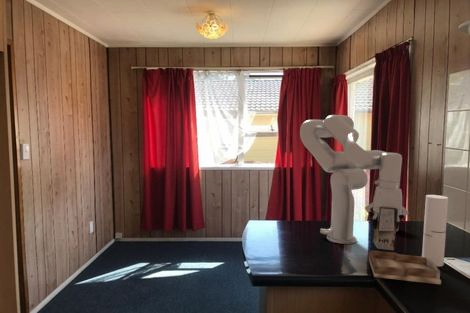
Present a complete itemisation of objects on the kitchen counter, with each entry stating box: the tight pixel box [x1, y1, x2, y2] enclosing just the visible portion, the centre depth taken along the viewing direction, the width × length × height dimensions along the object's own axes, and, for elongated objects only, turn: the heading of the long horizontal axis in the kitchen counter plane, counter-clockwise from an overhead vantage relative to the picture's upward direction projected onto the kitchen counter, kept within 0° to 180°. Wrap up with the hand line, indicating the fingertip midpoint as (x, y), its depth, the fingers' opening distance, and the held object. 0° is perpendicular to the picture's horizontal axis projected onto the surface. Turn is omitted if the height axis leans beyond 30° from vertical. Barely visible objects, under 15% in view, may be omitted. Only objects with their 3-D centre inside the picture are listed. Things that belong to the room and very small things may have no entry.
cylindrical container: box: [421, 194, 449, 268], centre depth 131 cm, size 7×7×25 cm
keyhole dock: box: [368, 249, 442, 285], centre depth 124 cm, size 20×16×4 cm
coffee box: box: [372, 207, 398, 251], centre depth 139 cm, size 9×6×16 cm
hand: (384, 229), depth 139 cm, fingers closed on coffee box, 6 cm apart
